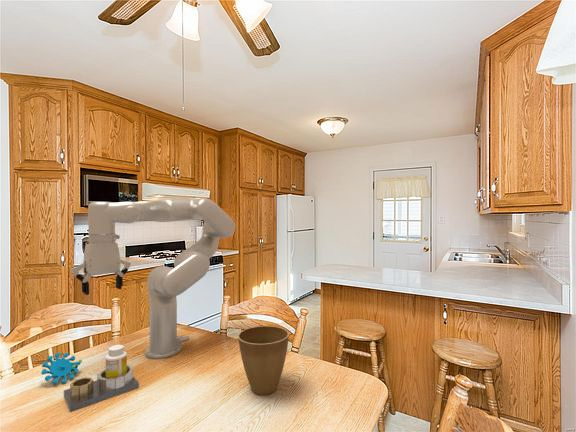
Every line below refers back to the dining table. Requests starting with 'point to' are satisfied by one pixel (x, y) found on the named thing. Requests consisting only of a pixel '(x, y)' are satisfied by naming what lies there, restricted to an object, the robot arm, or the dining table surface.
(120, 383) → the fitting plate
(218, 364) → the dining table surface
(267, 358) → the plant pot
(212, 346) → the dining table surface
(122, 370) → the supplement bottle
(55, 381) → the blue virus model
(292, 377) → the dining table surface
